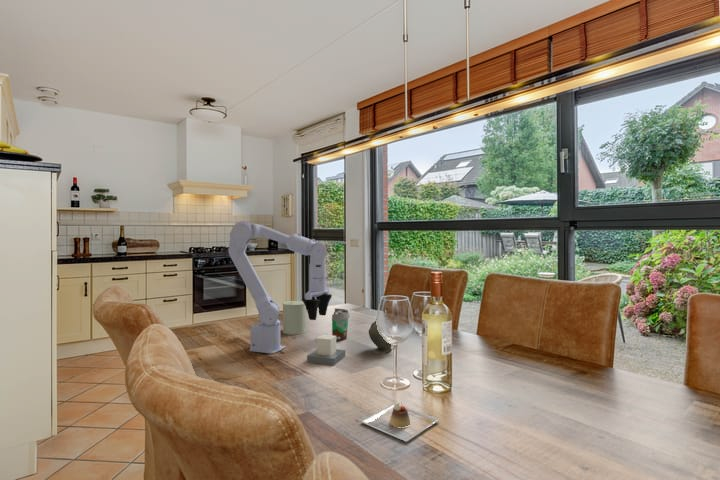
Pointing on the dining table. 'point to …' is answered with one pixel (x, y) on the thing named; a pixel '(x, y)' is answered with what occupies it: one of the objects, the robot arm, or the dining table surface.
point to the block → (326, 345)
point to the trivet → (326, 357)
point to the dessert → (398, 418)
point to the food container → (340, 324)
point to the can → (294, 317)
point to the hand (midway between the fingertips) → (317, 317)
